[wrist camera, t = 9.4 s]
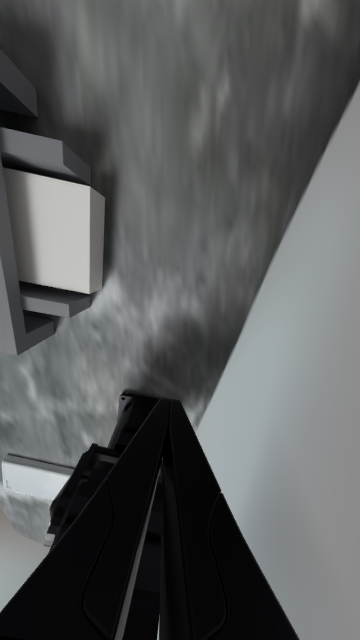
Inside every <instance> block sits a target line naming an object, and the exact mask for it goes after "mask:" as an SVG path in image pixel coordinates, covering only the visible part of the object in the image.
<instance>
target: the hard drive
mask: <svg viewBox="0 0 360 640" xmlns="http://www.w3.org/2000/svg"><path fill="white" fill-rule="evenodd" d="M74 470H75V469H71V468H66V467H61V466H57V465H52V464H48V463H43V462H38V461H34V460H29V459H25V458H20V457H15V456H11V455H7V456H6V457H5V458H4V460H3V461H2V474H3V485H4V490H7V491H11V492H16V493H21V494H26V495H31V496H36V497H40V498H45V499H50V500H54V499H55V497H56V496H57V495H58V493H59V492H60V490H61V489H62V487H63V486H64V485H65V483H66V482H67V480H68V479H69V478H70V476H71V475H72V473H73V471H74Z"/></svg>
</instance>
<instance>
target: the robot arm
mask: <svg viewBox="0 0 360 640" xmlns="http://www.w3.org/2000/svg"><path fill="white" fill-rule="evenodd" d="M123 397H124V398H123ZM162 457H163V459H162ZM220 493H221V489H220V487H219V484H218V482H217V480H216V478H215V476H214V473H213V471H212V469H211V467H210V465H209V463H208V460H207V458H206V456H205V454H204V452H203V449H202V447H201V445H200V443H199V441H198V439H197V436H196V434H195V432H194V430H193V428H192V425H191V423H190V421H189V419H188V417H187V414H186V412H185V410H184V408H183V406H182V404H181V402H180V400H174V399H171V400H170V399H167V398H160V399H156V398H150V397H144V396H138V395H132V394H126V393H123V394H121V396H120V398H119V410H118V422H117V425H116V427H115V430H114V432H113V435H112V437H111V440H110V442H109V445H108V447H107V448H106V447H102V446H98V444H94V443H92V445H91V447H90V449H89V450H88V451H86V452H85V453H83V454H82V456H81V458H80V460H79V462H78V464H77V466H76V468H75V470H74V471H73V473H72V475H71V476H70V478H69V479H68V480H67V482H66V483H65V485H64V486H63V487H62V489H61V490H60V492H59V493H58V495H57V496H56V497H55V499H54V500H53V502H52V504H51V506H50V509H49V510H50V516H51V520H50V523H49V526H48V531H47V534H46V537H45V540H44V546H48V547H51V548H50V551H49V553H48V555H47V556H46V557H45V558H44V560H43V561H42V562H41V563H40V565H39V566H38V567H37V568H36V569H35V571H34V572H33V573H32V574H31V575H30V577H29V578H28V579H27V581H26V582H25V583H24V584H23V585H22V586H21V588H20V589H19V590H18V591H17V593H16V594H15V595H14V596H13V597H12V599H11V600H10V601H9V602H8V604H7V605H6V606H5V607H4V608H3V610H2V611H1V612H0V640H157V633H158V624H159V623H160V624H159V640H300V639H299V638H298V636H297V634H296V632H295V630H294V629H293V627H292V625H291V623H290V621H289V620H288V618H287V616H286V614H285V612H284V610H283V609H282V607H281V605H280V604H279V601H278V600H277V598H276V596H275V594H274V592H273V591H272V589H271V587H270V585H269V584H268V582H267V580H266V578H265V576H264V574H263V573H262V571H261V569H260V567H259V565H258V563H257V561H256V560H255V558H254V556H253V554H252V552H251V550H250V549H249V547H248V544H247V543H246V541H245V539H244V537H243V535H242V533H241V531H240V529H239V527H238V525H237V523H236V521H235V519H234V516H233V514H232V512H231V510H230V508H229V506H228V504H227V502H226V499H225V497H224V495H223V493H221V494H220ZM159 615H160V621H159Z"/></svg>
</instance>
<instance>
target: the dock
mask: <svg viewBox="0 0 360 640" xmlns="http://www.w3.org/2000/svg"><path fill="white" fill-rule="evenodd" d="M0 109H1V110H5V111H10V112H14V113H18V114H23V115H27V116H31V117H36V118H38V107H37V94H36V88H35V87H34V86H33V85H32V84H31V83H30V81H29V80H28V79H27V78H26V77H25V76H24V75H23V73H22V72H21V71H20V70H19V69H18V68H17V67H16V66H15V64H14V63H13V62H12V61H11V60H10V59H9V58H8V56H7V55H6V54H5V53H4V52H3V51H2V50H1V48H0ZM2 167H6V168H11V169H15V170H20V171H25V172H29V173H34V174H39V175H43V176H48V177H53V178H57V179H62V180H67V181H71V182H76V183H80V184H85V185H90V186H91V168H90V167H89V166H88V165H87V164H86V163H85V162H84V161H83V160H82V159H81V158H80V157H79V156H77V155H76V154H75V153H74V152H73V151H72V150H71V149H70V148H69V147H68V146H67V145H66V144H65V143H64V142H63V141H60V140H56V139H51V138H47V137H42V136H38V135H33V134H29V133H24V132H20V131H15V130H11V129H7V128H2V127H0V353H5V354H11V355H16V356H18V355H19V354H21V353H23V352H24V351H26V350H28V349H29V348H31V347H33V346H35V345H36V344H38V343H40V342H41V341H43V340H45V339H46V338H48V337H50V336H52V335H53V334H55V332H54V321H53V320H47V319H42V318H36V317H30V316H25V315H23V310H22V309H24V310H29V311H35V312H40V313H46V314H51V315H57V316H62V317H68V318H70V317H72V316H74V315H76V314H78V313H79V312H81V311H83V310H85V309H87V308H89V307H90V296H88V295H83V294H78V293H72V292H67V291H62V290H56V289H51V288H46V287H40V286H35V285H30V284H24V283H19V281H18V274H17V267H16V260H15V253H14V246H13V239H12V231H11V224H10V217H9V210H8V203H7V196H6V189H5V182H4V175H3V168H2Z"/></svg>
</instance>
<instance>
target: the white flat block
mask: <svg viewBox="0 0 360 640" xmlns="http://www.w3.org/2000/svg"><path fill="white" fill-rule="evenodd" d="M2 168H3V167H2ZM3 175H4V182H5V189H6V196H7V203H8V210H9V217H10V224H11V231H12V239H13V246H14V253H15V260H16V267H17V274H18V280H19V281H24V282H29V283H35V284H40V285H45V286H50V287H56V288H61V289H66V290H71V291H76V292H82V293H87V294H91V293H93V292H96V291H98V290H101V289H102V278H103V248H104V217H105V197H103V196H102V195H101V194H99V193H98V192H97V191H95V190H94V189H93V188H91V187H90V186H86V185H81V184H76V183H72V182H67V181H63V180H58V179H54V178H49V177H45V176H40V175H35V174H31V173H26V172H22V171H17V170H13V169H8V168H3Z"/></svg>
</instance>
